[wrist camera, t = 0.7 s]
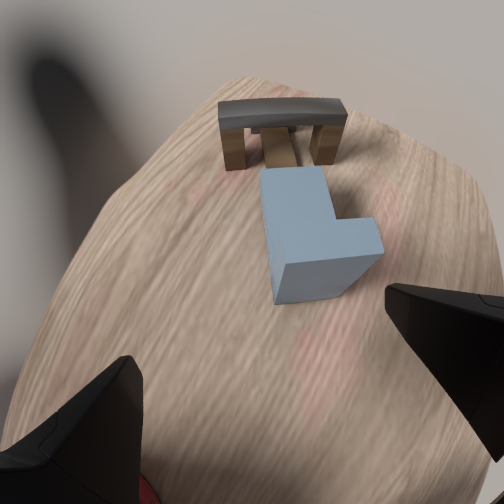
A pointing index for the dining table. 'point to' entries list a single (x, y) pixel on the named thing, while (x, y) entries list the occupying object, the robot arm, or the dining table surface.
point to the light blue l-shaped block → (312, 237)
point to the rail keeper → (280, 128)
